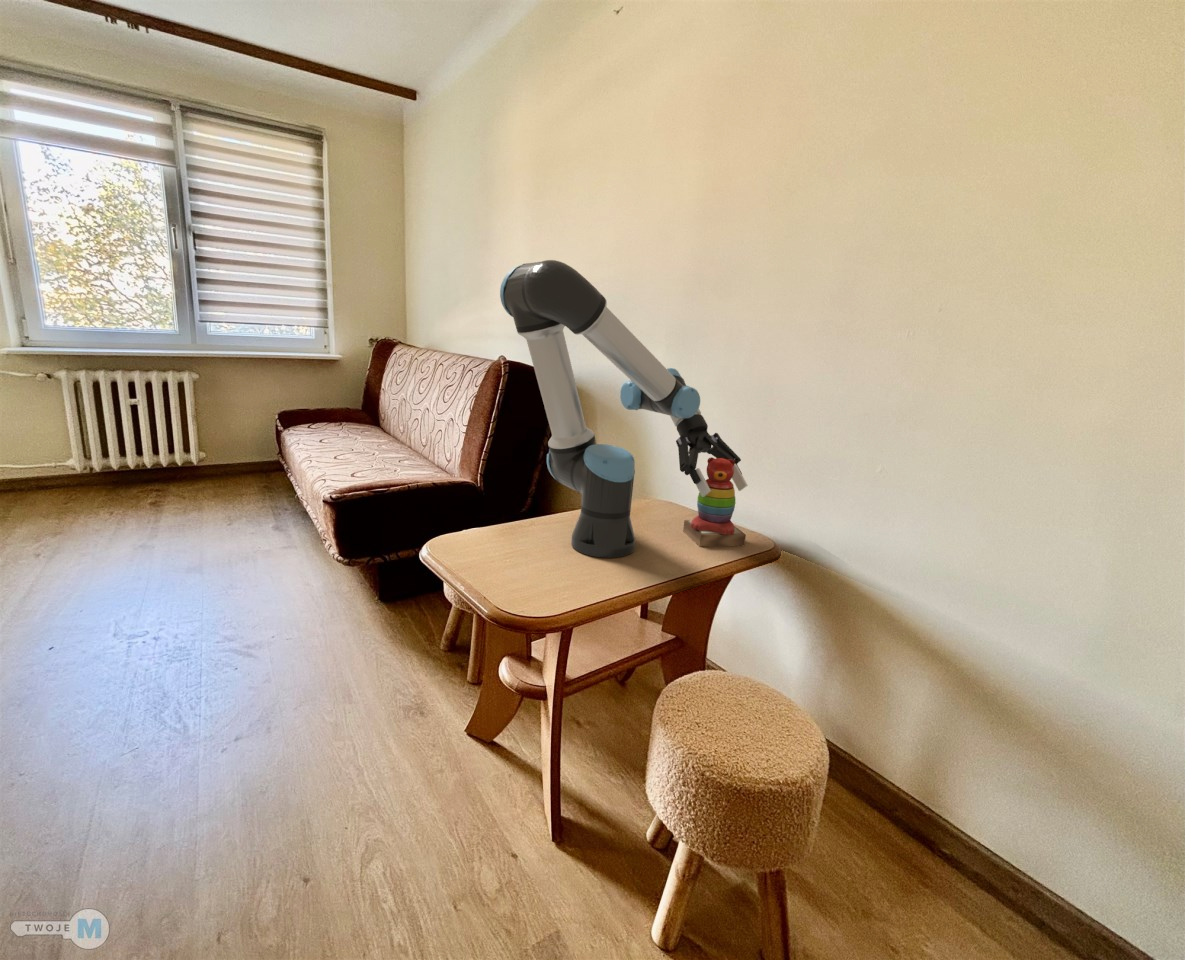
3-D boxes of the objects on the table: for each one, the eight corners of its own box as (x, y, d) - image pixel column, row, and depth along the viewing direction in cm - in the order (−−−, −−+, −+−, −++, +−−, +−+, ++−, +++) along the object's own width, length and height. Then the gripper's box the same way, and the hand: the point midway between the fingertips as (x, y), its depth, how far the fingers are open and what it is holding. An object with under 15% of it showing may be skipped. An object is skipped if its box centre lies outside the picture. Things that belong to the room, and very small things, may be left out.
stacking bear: (689, 529, 136) (697, 459, 132) (693, 517, 146) (701, 452, 141) (733, 536, 133) (743, 465, 129) (735, 523, 143) (744, 457, 138)
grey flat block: (699, 546, 134) (701, 534, 133) (683, 530, 144) (684, 519, 144) (744, 545, 137) (746, 533, 136) (725, 530, 147) (726, 519, 146)
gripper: (712, 427, 153) (747, 492, 146) (645, 431, 139) (680, 504, 131) (729, 411, 148) (767, 478, 140) (661, 413, 133) (699, 488, 126)
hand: (725, 491), depth 136 cm, fingers open, 13 cm apart
